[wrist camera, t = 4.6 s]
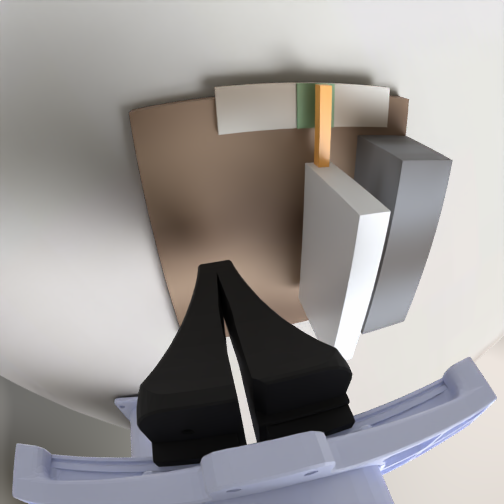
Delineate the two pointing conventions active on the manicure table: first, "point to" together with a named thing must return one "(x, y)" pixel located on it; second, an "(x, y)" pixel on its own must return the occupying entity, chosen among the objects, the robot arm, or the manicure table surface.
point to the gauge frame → (282, 187)
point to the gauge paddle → (337, 242)
